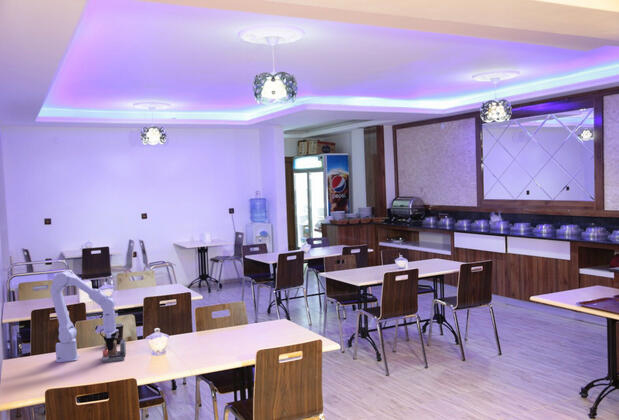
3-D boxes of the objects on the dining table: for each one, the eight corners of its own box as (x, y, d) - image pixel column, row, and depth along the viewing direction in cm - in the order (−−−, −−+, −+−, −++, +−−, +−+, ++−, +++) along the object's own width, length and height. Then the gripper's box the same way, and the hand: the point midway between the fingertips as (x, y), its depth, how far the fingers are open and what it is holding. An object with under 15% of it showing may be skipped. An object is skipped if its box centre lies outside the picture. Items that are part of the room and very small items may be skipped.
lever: (102, 359, 275) (101, 351, 275) (102, 358, 278) (102, 349, 278) (108, 359, 276) (108, 350, 276) (109, 357, 278) (108, 349, 278)
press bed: (102, 362, 275) (101, 348, 275) (105, 354, 289) (104, 341, 289) (124, 360, 278) (123, 346, 278) (126, 352, 291) (125, 339, 291)
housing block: (105, 355, 283) (104, 343, 283) (106, 353, 288) (105, 341, 287) (116, 354, 284) (115, 342, 284) (116, 351, 289) (116, 340, 289)
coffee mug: (127, 341, 315) (126, 323, 314) (120, 345, 306) (119, 327, 306) (107, 341, 316) (105, 323, 315) (99, 345, 307) (98, 327, 307)
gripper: (116, 324, 279) (118, 351, 280) (118, 318, 293) (120, 344, 294) (101, 325, 277) (103, 353, 278) (104, 319, 292) (106, 345, 292)
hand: (111, 348), depth 286 cm, fingers closed on housing block, 5 cm apart
